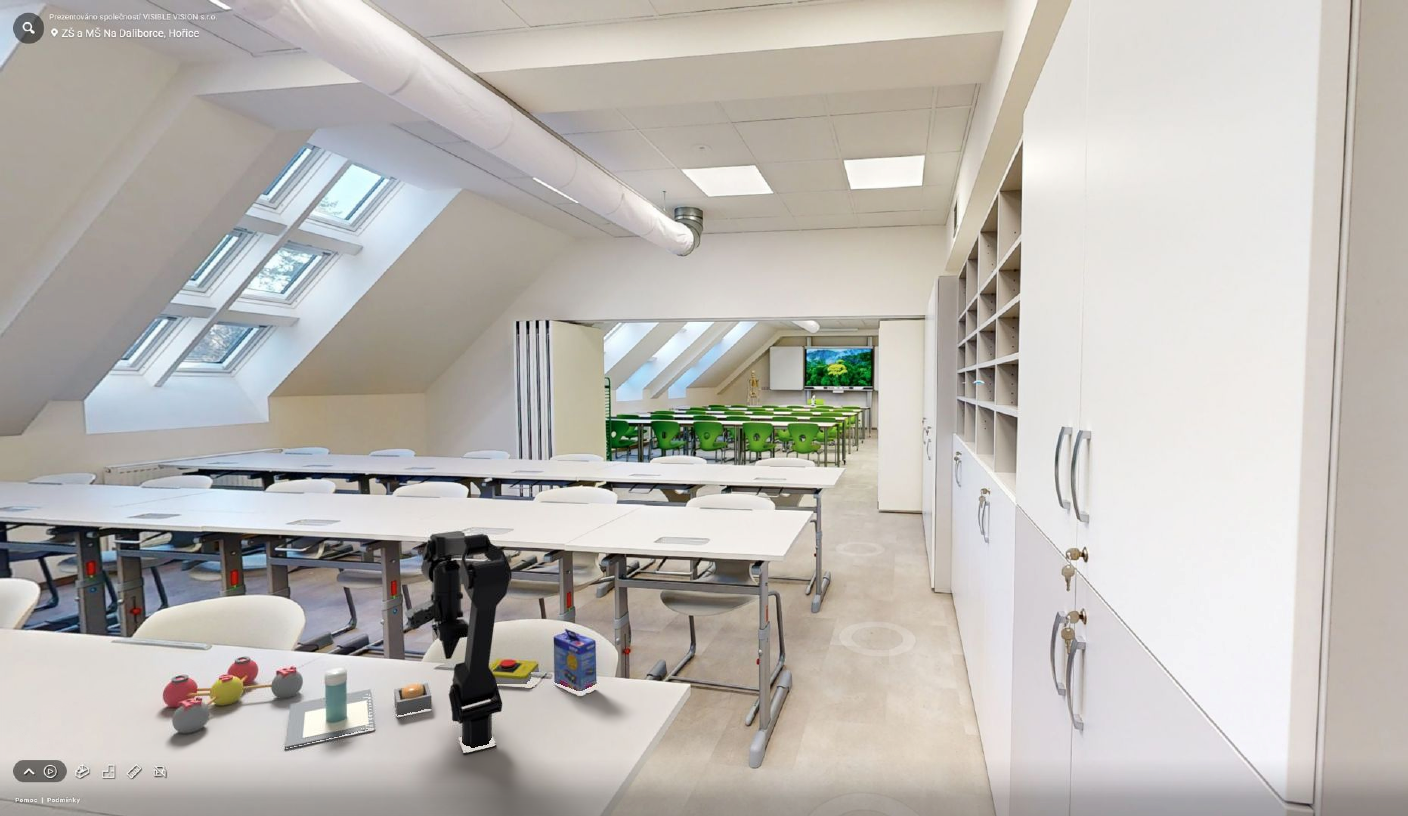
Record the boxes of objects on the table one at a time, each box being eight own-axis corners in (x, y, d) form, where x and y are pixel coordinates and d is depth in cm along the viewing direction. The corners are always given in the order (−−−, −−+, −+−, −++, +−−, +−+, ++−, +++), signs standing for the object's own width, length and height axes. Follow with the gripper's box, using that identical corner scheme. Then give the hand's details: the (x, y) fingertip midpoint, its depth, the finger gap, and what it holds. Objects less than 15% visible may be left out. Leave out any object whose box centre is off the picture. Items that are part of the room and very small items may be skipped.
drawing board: (374, 730, 142) (374, 727, 142) (284, 749, 135) (284, 746, 135) (370, 691, 160) (370, 688, 160) (290, 706, 152) (290, 703, 152)
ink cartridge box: (552, 686, 164) (552, 626, 163) (570, 678, 168) (570, 620, 167) (579, 698, 157) (579, 636, 157) (597, 690, 162) (597, 630, 161)
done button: (424, 703, 151) (424, 690, 151) (402, 708, 149) (402, 694, 149) (422, 695, 155) (422, 682, 155) (401, 699, 153) (401, 686, 153)
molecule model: (179, 742, 138) (178, 711, 138) (140, 712, 150) (140, 684, 149) (308, 695, 158) (307, 668, 158) (265, 672, 170) (265, 647, 170)
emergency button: (491, 652, 173) (548, 657, 171) (491, 669, 174) (548, 674, 171) (474, 668, 164) (533, 672, 162) (474, 685, 164) (533, 690, 162)
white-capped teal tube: (341, 722, 144) (340, 676, 144) (321, 722, 144) (320, 676, 143) (351, 713, 148) (350, 667, 148) (331, 713, 148) (331, 667, 148)
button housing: (431, 711, 151) (431, 695, 151) (396, 718, 148) (396, 702, 147) (427, 697, 157) (427, 682, 157) (394, 704, 154) (394, 689, 154)
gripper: (402, 583, 155) (403, 651, 156) (414, 606, 139) (415, 681, 140) (454, 576, 161) (454, 642, 161) (470, 597, 145) (471, 670, 145)
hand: (448, 658), depth 152 cm, fingers closed
